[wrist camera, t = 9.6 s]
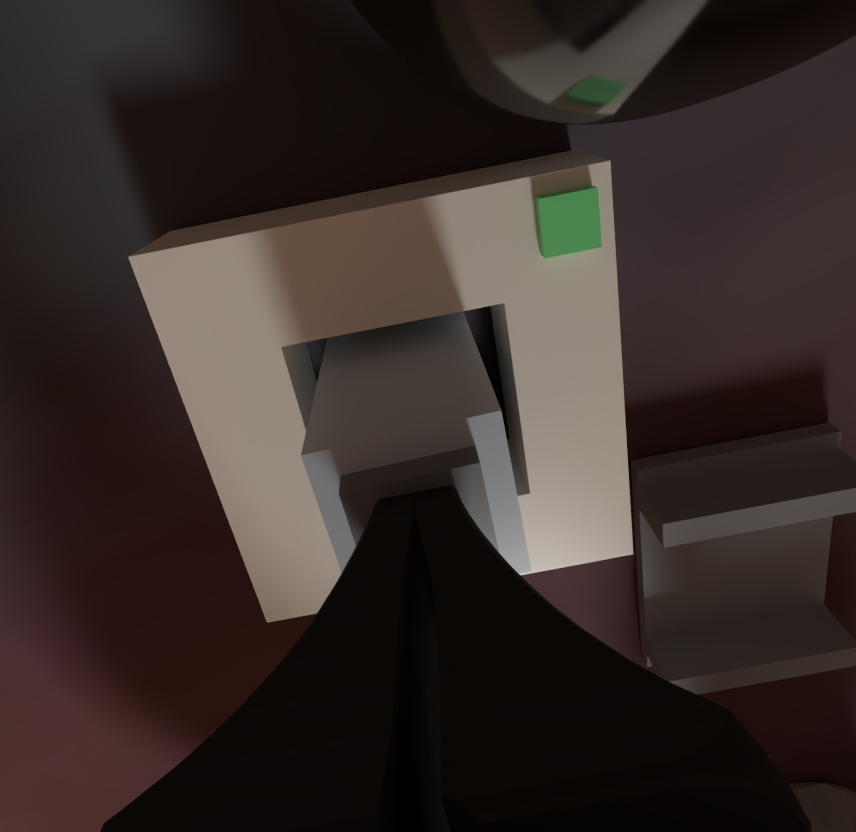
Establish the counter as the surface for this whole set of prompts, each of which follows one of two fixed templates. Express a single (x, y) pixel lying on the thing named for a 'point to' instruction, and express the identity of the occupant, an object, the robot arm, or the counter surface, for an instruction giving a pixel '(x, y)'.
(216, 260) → the port
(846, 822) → the coffeepot
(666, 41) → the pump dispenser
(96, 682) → the counter surface
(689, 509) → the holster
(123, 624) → the counter surface
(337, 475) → the plug
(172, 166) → the counter surface
